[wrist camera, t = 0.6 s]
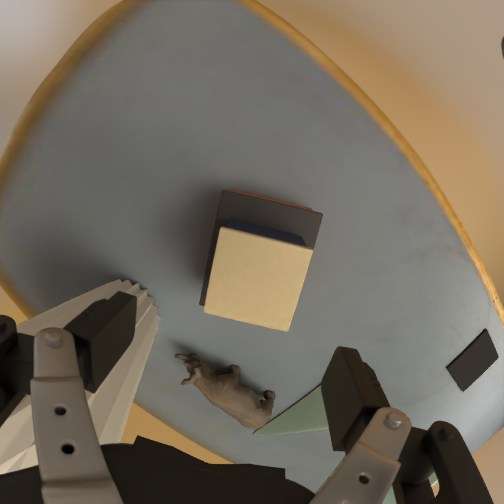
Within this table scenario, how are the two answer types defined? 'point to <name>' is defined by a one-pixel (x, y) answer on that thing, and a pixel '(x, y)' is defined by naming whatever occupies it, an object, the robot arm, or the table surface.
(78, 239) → the table surface
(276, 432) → the planter
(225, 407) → the rhino figurine
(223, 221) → the bottom container
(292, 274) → the top container
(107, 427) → the vase
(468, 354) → the mat
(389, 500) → the right angle wall
